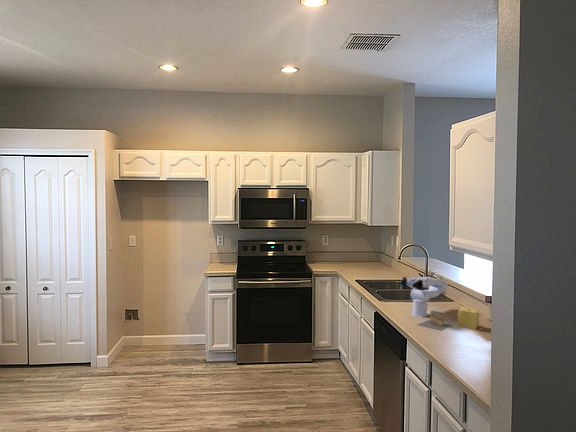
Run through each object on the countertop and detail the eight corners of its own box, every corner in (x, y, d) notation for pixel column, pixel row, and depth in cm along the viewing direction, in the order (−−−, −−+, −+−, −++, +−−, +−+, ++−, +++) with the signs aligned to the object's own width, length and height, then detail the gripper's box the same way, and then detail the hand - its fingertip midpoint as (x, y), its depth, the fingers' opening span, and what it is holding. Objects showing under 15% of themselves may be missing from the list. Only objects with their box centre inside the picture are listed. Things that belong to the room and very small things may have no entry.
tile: (431, 322, 272) (432, 310, 272) (443, 325, 268) (444, 312, 267) (429, 323, 270) (430, 311, 270) (441, 326, 266) (442, 313, 265)
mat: (428, 320, 277) (428, 319, 277) (452, 326, 268) (452, 325, 268) (416, 325, 265) (416, 324, 265) (441, 331, 256) (441, 330, 256)
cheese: (478, 326, 271) (480, 309, 271) (475, 330, 262) (477, 312, 262) (459, 322, 277) (461, 306, 276) (456, 327, 267) (457, 309, 267)
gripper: (406, 274, 287) (396, 274, 276) (429, 278, 278) (420, 279, 267) (405, 285, 287) (395, 287, 276) (428, 290, 278) (418, 291, 267)
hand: (407, 283), depth 272 cm, fingers open, 7 cm apart
